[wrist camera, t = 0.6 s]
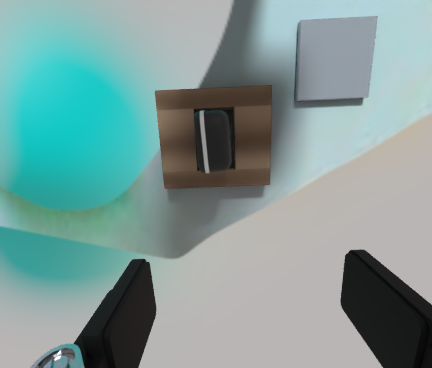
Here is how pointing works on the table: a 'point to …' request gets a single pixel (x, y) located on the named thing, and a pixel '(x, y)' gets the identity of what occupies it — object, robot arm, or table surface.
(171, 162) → the holder
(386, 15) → the table surface
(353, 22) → the tile
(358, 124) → the table surface
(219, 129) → the battery charger
